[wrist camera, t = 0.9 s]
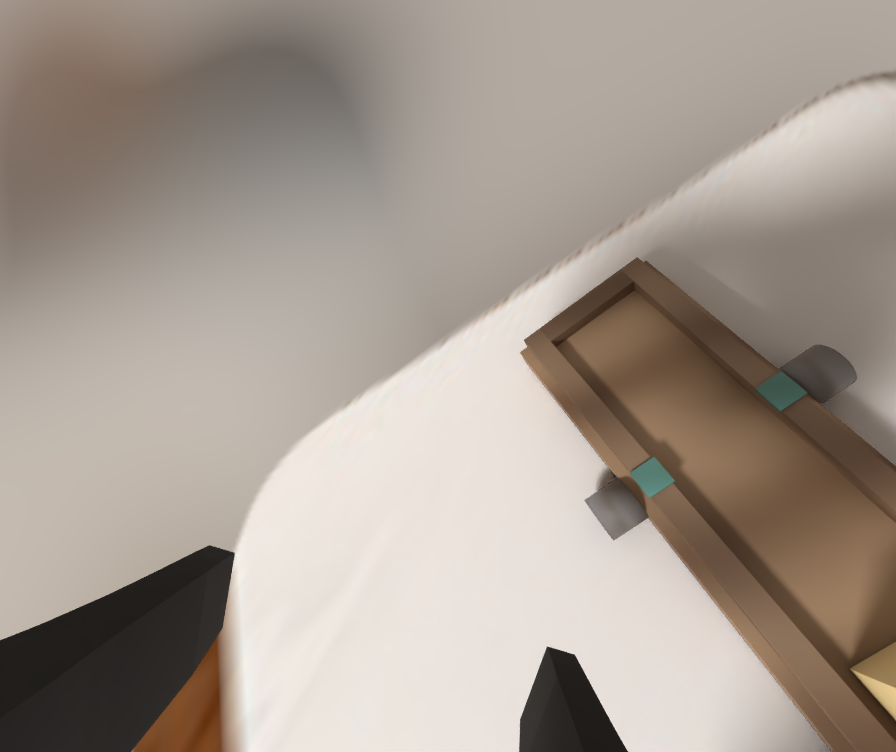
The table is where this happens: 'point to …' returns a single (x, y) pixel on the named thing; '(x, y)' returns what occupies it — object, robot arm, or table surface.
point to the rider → (880, 677)
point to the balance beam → (739, 484)
